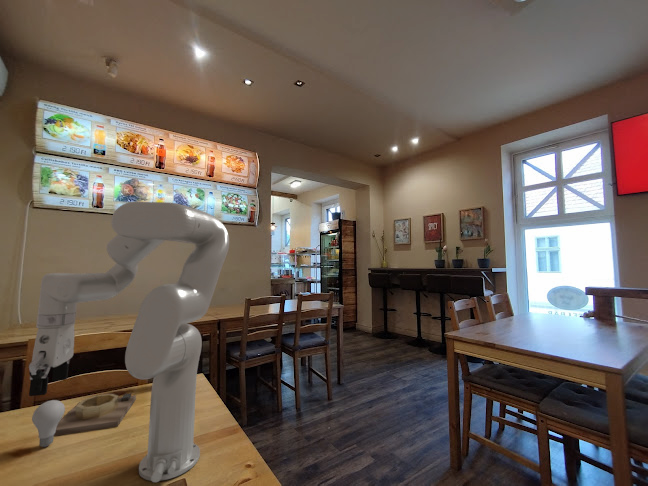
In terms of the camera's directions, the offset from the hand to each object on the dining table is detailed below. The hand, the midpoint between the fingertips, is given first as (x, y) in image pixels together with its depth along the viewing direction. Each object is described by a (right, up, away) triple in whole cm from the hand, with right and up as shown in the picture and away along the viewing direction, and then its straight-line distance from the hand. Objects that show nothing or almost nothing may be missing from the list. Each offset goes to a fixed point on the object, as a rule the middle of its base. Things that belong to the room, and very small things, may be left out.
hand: (49, 387), depth 75 cm
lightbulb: (+1, -15, -1) cm, 15 cm away
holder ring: (+2, -14, +14) cm, 20 cm away
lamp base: (+2, -16, +14) cm, 21 cm away
